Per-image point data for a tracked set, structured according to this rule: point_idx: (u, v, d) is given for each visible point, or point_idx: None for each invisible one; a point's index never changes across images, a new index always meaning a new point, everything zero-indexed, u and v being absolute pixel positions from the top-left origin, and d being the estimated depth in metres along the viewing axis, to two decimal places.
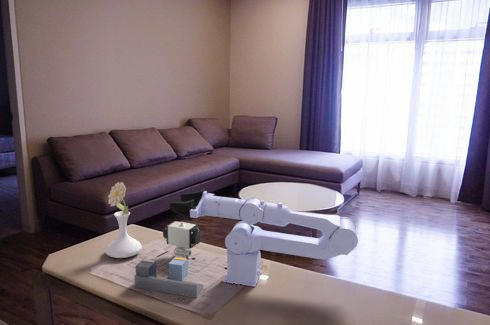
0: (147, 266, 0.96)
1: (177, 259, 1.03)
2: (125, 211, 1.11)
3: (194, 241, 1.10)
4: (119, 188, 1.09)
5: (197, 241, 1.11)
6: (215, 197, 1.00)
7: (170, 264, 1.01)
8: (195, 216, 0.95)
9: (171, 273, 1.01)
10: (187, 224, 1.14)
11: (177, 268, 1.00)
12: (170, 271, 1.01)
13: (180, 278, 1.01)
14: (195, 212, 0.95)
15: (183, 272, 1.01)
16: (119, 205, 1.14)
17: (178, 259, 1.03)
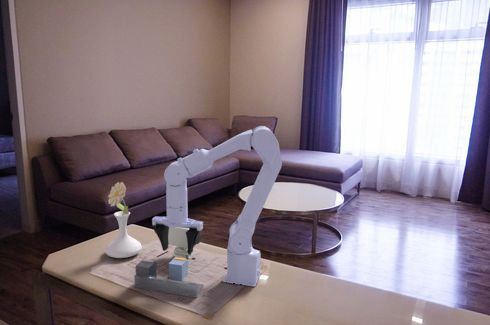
0: (147, 266, 0.96)
1: (177, 259, 1.03)
2: (125, 211, 1.11)
3: None
4: (119, 188, 1.09)
5: (197, 241, 1.11)
6: (173, 213, 0.96)
7: (170, 264, 1.01)
8: (202, 223, 0.99)
9: (171, 273, 1.01)
10: None
11: (177, 268, 1.00)
12: (170, 271, 1.01)
13: (180, 278, 1.01)
14: (200, 224, 0.97)
15: (183, 272, 1.01)
16: (119, 205, 1.14)
17: (178, 259, 1.03)
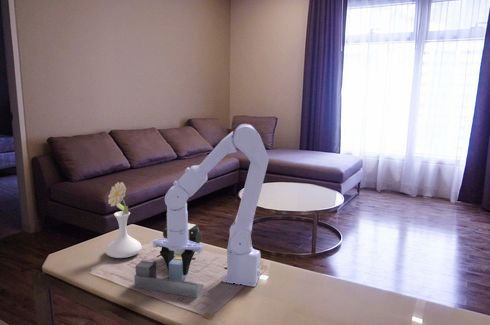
0: (147, 266, 0.96)
1: (177, 259, 1.03)
2: (125, 211, 1.11)
3: (194, 241, 1.10)
4: (119, 188, 1.09)
5: (197, 241, 1.11)
6: (174, 236, 0.98)
7: (170, 264, 1.01)
8: (202, 245, 1.00)
9: (171, 273, 1.01)
10: None
11: (177, 268, 1.00)
12: (170, 271, 1.01)
13: (180, 278, 1.01)
14: (201, 247, 0.99)
15: None
16: (119, 205, 1.14)
17: (178, 259, 1.03)
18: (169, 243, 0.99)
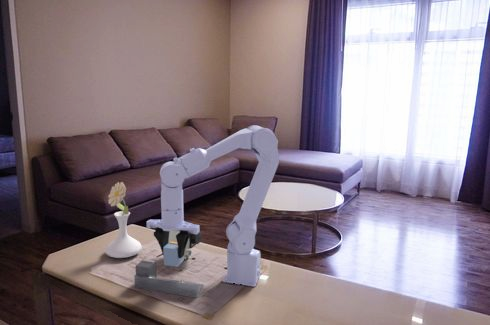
0: (147, 266, 0.96)
1: (172, 243, 0.97)
2: (125, 211, 1.11)
3: (194, 241, 1.10)
4: (119, 188, 1.09)
5: (197, 241, 1.11)
6: (168, 216, 0.92)
7: (165, 248, 0.95)
8: (199, 226, 0.94)
9: (166, 258, 0.95)
10: None
11: (172, 252, 0.94)
12: (165, 256, 0.95)
13: (175, 263, 0.95)
14: (197, 228, 0.93)
15: (178, 257, 0.95)
16: (119, 205, 1.14)
17: (173, 243, 0.97)
18: (163, 223, 0.93)
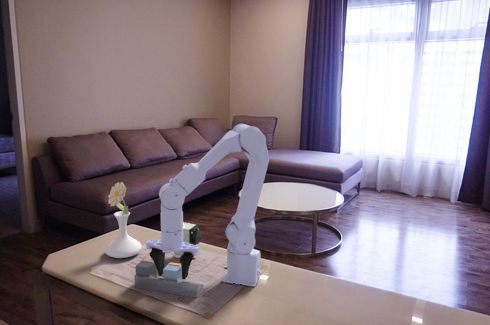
0: (147, 266, 0.96)
1: (172, 264, 0.97)
2: (125, 211, 1.11)
3: (194, 241, 1.10)
4: (119, 188, 1.09)
5: (197, 241, 1.11)
6: (168, 238, 0.92)
7: (165, 270, 0.95)
8: (198, 247, 0.94)
9: None
10: (187, 224, 1.14)
11: (172, 274, 0.95)
12: (165, 278, 0.95)
13: None
14: (197, 249, 0.93)
15: (178, 278, 0.95)
16: (119, 205, 1.14)
17: (173, 264, 0.97)
18: (163, 245, 0.93)
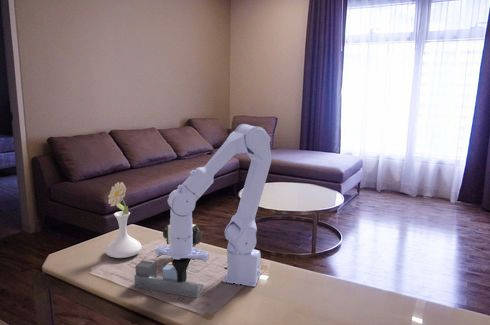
0: (147, 266, 0.96)
1: (171, 264, 0.97)
2: (125, 211, 1.11)
3: (194, 241, 1.10)
4: (119, 188, 1.09)
5: (197, 241, 1.11)
6: (178, 244, 0.91)
7: (164, 270, 0.95)
8: (208, 254, 0.94)
9: None
10: None
11: (171, 274, 0.95)
12: (164, 277, 0.95)
13: None
14: (206, 255, 0.93)
15: None
16: (119, 205, 1.14)
17: None
18: (173, 251, 0.93)
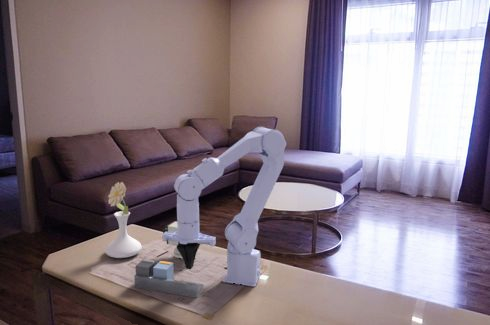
0: (147, 266, 0.96)
1: (162, 263, 0.98)
2: (125, 211, 1.11)
3: None
4: (119, 188, 1.09)
5: None
6: (185, 229, 0.92)
7: (155, 268, 0.96)
8: (215, 238, 0.94)
9: None
10: None
11: (162, 272, 0.95)
12: (155, 276, 0.96)
13: None
14: (213, 240, 0.93)
15: (168, 276, 0.96)
16: (119, 205, 1.14)
17: (163, 263, 0.98)
18: (180, 236, 0.93)
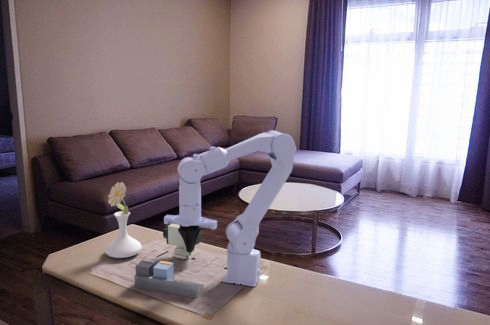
0: (147, 266, 0.96)
1: (162, 263, 0.98)
2: (125, 211, 1.11)
3: None
4: (119, 188, 1.09)
5: (197, 241, 1.11)
6: (187, 211, 0.92)
7: (155, 268, 0.96)
8: (216, 222, 0.95)
9: None
10: None
11: (162, 272, 0.95)
12: (155, 276, 0.96)
13: None
14: (215, 223, 0.94)
15: (168, 276, 0.96)
16: (119, 205, 1.14)
17: (163, 263, 0.98)
18: (181, 219, 0.94)
